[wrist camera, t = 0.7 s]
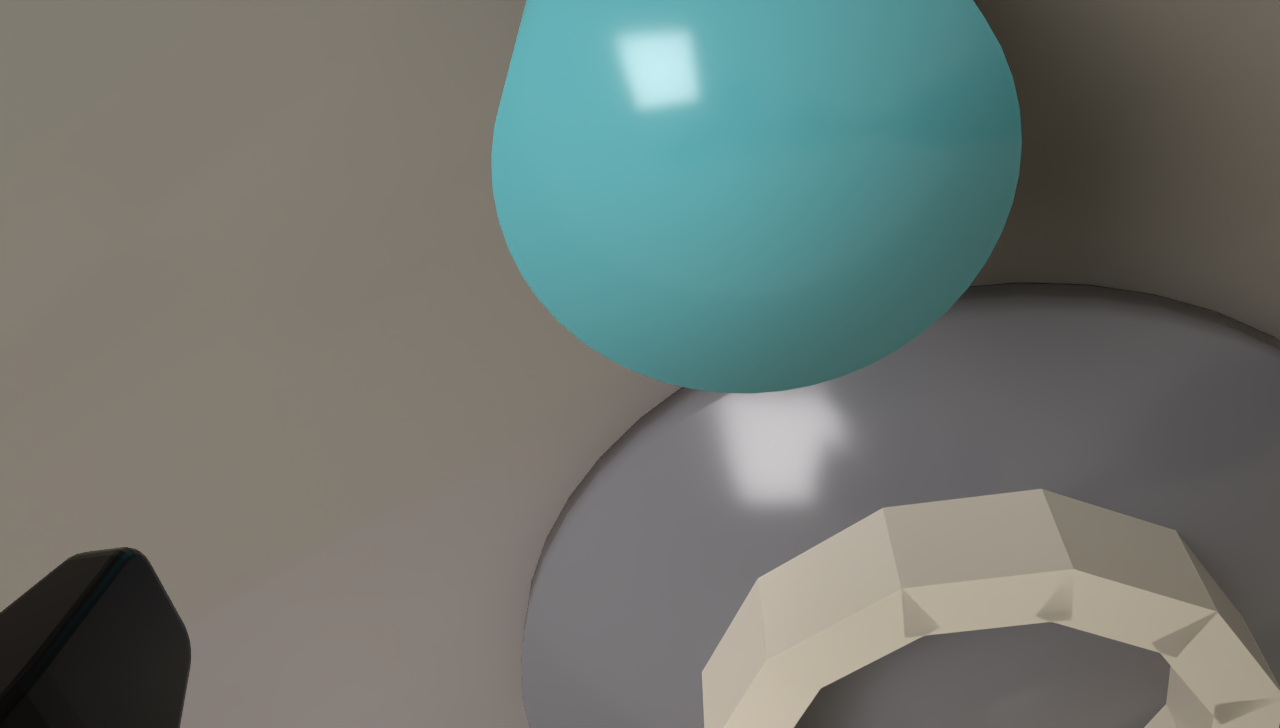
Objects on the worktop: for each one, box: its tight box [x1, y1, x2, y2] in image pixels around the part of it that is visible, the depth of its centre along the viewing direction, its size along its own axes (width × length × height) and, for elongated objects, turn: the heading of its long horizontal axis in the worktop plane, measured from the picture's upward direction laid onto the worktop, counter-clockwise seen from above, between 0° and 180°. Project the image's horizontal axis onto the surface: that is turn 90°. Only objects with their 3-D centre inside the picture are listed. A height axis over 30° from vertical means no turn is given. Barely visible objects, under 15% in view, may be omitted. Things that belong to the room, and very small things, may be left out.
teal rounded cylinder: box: [491, 0, 1022, 394], centre depth 14 cm, size 5×5×7 cm
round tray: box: [521, 283, 1280, 728], centre depth 24 cm, size 18×18×3 cm
